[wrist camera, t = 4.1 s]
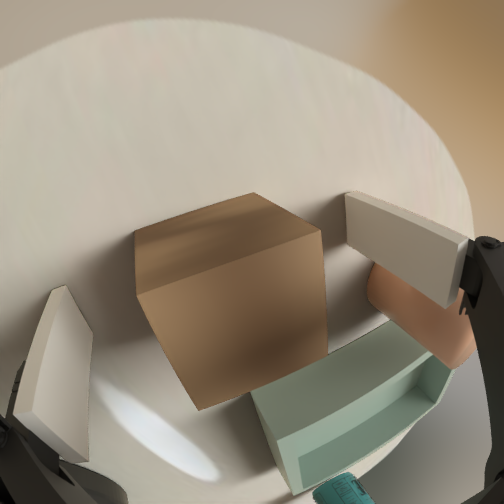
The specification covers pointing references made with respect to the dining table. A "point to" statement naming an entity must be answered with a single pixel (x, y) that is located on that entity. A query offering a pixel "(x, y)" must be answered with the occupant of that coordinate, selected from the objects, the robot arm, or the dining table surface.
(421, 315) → the peach rounded smooth part
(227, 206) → the walnut cube
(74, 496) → the robot arm
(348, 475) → the beverage bottle
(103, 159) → the dining table surface
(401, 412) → the tray
